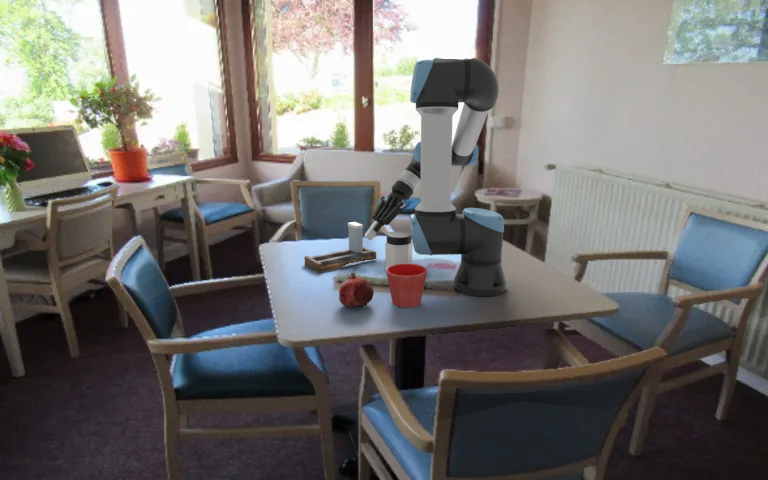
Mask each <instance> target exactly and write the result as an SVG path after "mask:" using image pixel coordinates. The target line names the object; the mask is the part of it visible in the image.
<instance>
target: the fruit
mask: <svg viewBox="0 0 768 480" xmlns="http://www.w3.org/2000/svg"><path fill="white" fill-rule="evenodd" d="M374 291H375V290H374V288H373V286H372V284H371V283H370V282H369V281H368V280H367V279H365V278H362V277H358V276H356V273H355V271H354V270H353V272H351V273H350V275H349V273H348V274H347V279H346V280H344V281H343V282H342V283H341V284H340V287H339V289H338V300H339V302H340V304H341V305H343V307H345V308H349V309H356V308H358V309H359V308H360V309H361V308H365V309H367V308H369V307H368V304H369V303H370V302H371V301H372V300H373V298H374Z"/></svg>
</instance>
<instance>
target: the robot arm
mask: <svg viewBox="0 0 768 480" xmlns="http://www.w3.org/2000/svg"><path fill="white" fill-rule="evenodd" d="M499 89H500V88H499V81H498V78H497V76H496V74H495V72H494V71H493V69H492V67H490V66H489V64H487V63H486V62H485V61H483V60H481V58H480V59H479V58H476V57H472V56H471V57H469V56H467V57H456V56H455V57H453V56H452V57H451V56H432V57H430V56H429V57H421V58H419V59H418V60H416V61H415V65H414V69H413V72H412V79H411V86H410V98H409V99H410V102H411V103H412V104H415V111H416V112H417V113H418V114H419V115H420V141H417V143H416V144H415V146H414V149H413V151H412V158H411V160H410V162H409V164H408V165H407V167H406V168H405V170H403V172H402V173H400V176H399V177H398V178H397V180H396V181H395V182H394V184H393V185H392V186H391V192H390V193H389V194H388V196H386V197H385V196H381V198H380V202H379V204H378V206H377V208H376V209H375V211H374V213H373V215H372V219H373V222H372V223H371V225H370V226H369V228H368V229H367V231H366V232H365V234H364V237H366V239H367V240H369V241H372V240H373V239H374V237H375V236H376V235H377V233H378V232H379V231H380V230H381V228H382V227H384V226H389V224H391V222H393V221H394V220H395V218H397V217H398V215H399V214H400V213H401V212H403V211H404V210H405V209H406V208H407V205H406V203H405V202H406V201H409V200H410V199H411V197H412V196H413V194H414V192H416V190H417V188H419V186H420V189H419V190H420V191H419V192H420V193H419V194H420V198H419V200H420V202H419V203H418V204H417V205H416V207H415V208H414V213H412V214H410V215H409V228H410V229H409V230H410V233H411V236H412V242H413V249H414V252H415V253H416V254H417V255H422V256H423V255H425V256H435V255H436V256H437V255H438V256H439V255H441V256H442V255H443V256H445V255H446V256H447V255H448V256H450V255H451V256H453V255H460V263H459V265H458V267H457V271H456V273H455V276H454V280H453V286H454V285H455V287H454V289H455V290H456V291H458V292H460V293H461V294H465V295H469V296H473V297H474V296H475V297H495V296H499V295H501V294H503V293H505V292H506V290H507V280H506V276H505V273H504V269H503V265H502V260H503V259H502V258H503V257H502V256H503V243H504V242H503V241H504V233H505V228H504V227H505V226H504V225H505V224H504V223H505V222H504V217H503V215H501V214H500V213H498V212H496V211H493V210H489V209H485V208H480V207H479V208H478V207H466V208H464V209H463V210H462V213H457V211H456V210H457V208H456V207H455V205H454V204H452V202H451V201H452V167H455V166H457V167H468V166H475V165H477V163H478V160H479V147H478V145H477V143H478V140H479V137H480V134H481V132H482V130H483V127H484V124H485V121H486V120H487V119H486V118H487V116H488V113H489V112H490V110H492V109H493V108H494V107H495V105H496V102H497V100H498V97H499V91H500V90H499ZM459 103H463V106H462V109H461V112H460V117H459V120H458V123H457V127H456V131H455V134H454V137H453V116H454V114H455V113H456V112H457V111H458V110H459Z"/></svg>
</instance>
